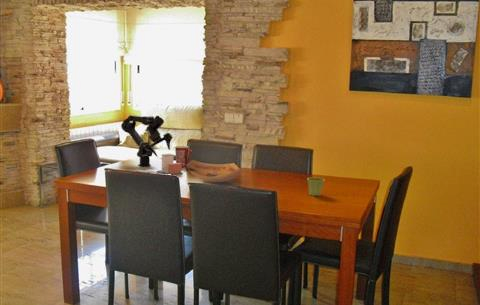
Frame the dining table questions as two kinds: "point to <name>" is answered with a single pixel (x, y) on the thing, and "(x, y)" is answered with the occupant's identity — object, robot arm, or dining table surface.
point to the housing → (172, 169)
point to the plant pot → (315, 186)
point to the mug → (182, 155)
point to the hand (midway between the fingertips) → (163, 153)
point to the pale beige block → (167, 160)
